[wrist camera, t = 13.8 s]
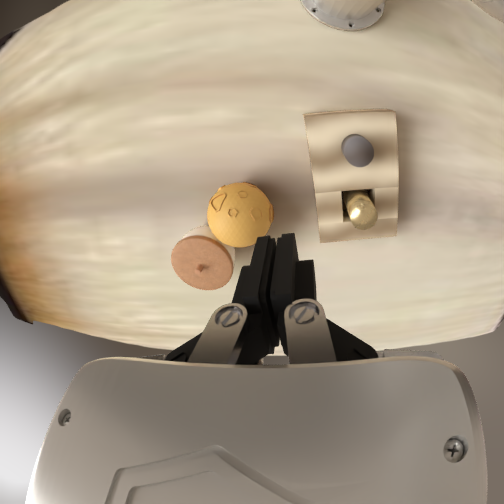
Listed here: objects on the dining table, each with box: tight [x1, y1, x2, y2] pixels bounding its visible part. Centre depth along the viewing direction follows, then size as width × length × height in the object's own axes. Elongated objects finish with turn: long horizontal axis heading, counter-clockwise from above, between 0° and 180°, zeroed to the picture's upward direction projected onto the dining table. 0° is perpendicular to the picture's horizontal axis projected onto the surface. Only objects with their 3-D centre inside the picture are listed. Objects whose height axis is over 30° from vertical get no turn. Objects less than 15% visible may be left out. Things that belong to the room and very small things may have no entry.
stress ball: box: [207, 182, 274, 247], centre depth 42 cm, size 10×10×10 cm
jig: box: [303, 109, 399, 243], centre depth 38 cm, size 20×13×7 cm, turn 12°
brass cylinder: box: [343, 189, 378, 230], centre depth 39 cm, size 4×4×8 cm
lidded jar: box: [171, 226, 235, 290], centre depth 48 cm, size 11×11×9 cm
